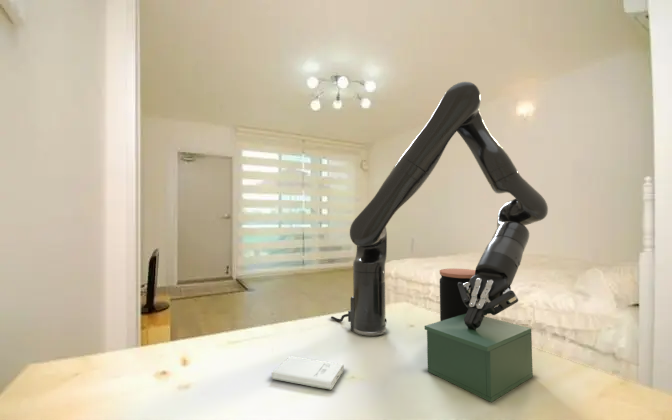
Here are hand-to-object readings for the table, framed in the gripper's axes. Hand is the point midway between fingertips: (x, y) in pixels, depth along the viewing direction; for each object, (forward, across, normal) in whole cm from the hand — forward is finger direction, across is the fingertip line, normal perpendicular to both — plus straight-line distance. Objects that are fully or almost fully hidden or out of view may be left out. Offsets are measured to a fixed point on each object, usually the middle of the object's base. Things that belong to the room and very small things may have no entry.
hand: (469, 326), depth 62 cm
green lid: (-1, 0, +3) cm, 3 cm away
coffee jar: (-5, -13, +19) cm, 24 cm away
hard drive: (+26, -20, -11) cm, 34 cm away
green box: (+5, 0, +9) cm, 11 cm away
